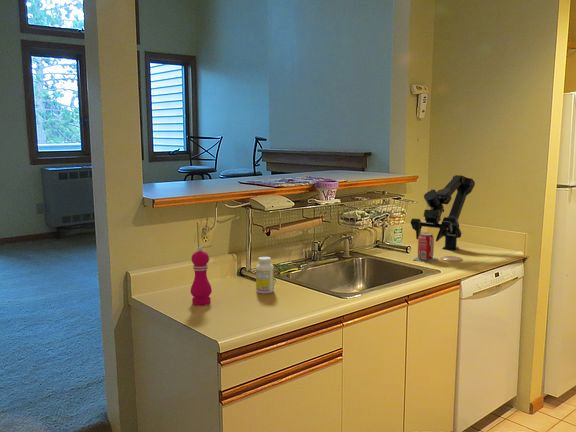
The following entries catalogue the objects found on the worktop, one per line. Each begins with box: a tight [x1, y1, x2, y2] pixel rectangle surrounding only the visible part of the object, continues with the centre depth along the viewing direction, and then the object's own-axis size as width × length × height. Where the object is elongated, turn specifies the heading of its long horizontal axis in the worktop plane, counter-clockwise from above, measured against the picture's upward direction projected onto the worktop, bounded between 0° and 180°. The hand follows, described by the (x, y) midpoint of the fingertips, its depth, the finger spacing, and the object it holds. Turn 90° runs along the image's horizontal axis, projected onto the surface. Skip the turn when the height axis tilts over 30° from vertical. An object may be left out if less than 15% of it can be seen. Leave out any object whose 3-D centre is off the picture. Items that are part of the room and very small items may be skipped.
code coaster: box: [412, 256, 439, 264], centre depth 254 cm, size 9×9×1 cm
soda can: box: [417, 232, 435, 260], centre depth 253 cm, size 7×7×12 cm
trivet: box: [439, 255, 463, 263], centre depth 254 cm, size 10×10×1 cm
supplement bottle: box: [255, 256, 275, 295], centre depth 203 cm, size 7×7×13 cm
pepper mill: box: [190, 246, 213, 307], centre depth 189 cm, size 7×7×20 cm
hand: (426, 240), depth 253 cm, fingers open, 9 cm apart
